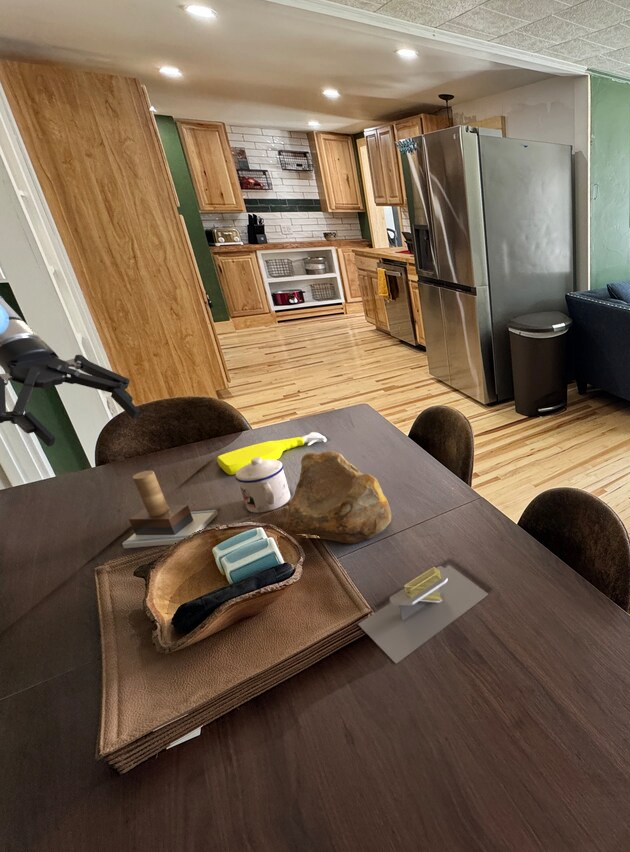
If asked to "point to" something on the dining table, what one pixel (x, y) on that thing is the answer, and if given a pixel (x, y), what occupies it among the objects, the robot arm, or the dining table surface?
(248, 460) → the spray bottle
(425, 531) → the dining table surface
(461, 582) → the plastering trowel
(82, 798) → the dining table surface
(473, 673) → the dining table surface
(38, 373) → the robot arm
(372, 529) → the rough brown rock
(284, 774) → the dining table surface
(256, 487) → the teacup with lid
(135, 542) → the tile
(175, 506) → the rubber stamp
